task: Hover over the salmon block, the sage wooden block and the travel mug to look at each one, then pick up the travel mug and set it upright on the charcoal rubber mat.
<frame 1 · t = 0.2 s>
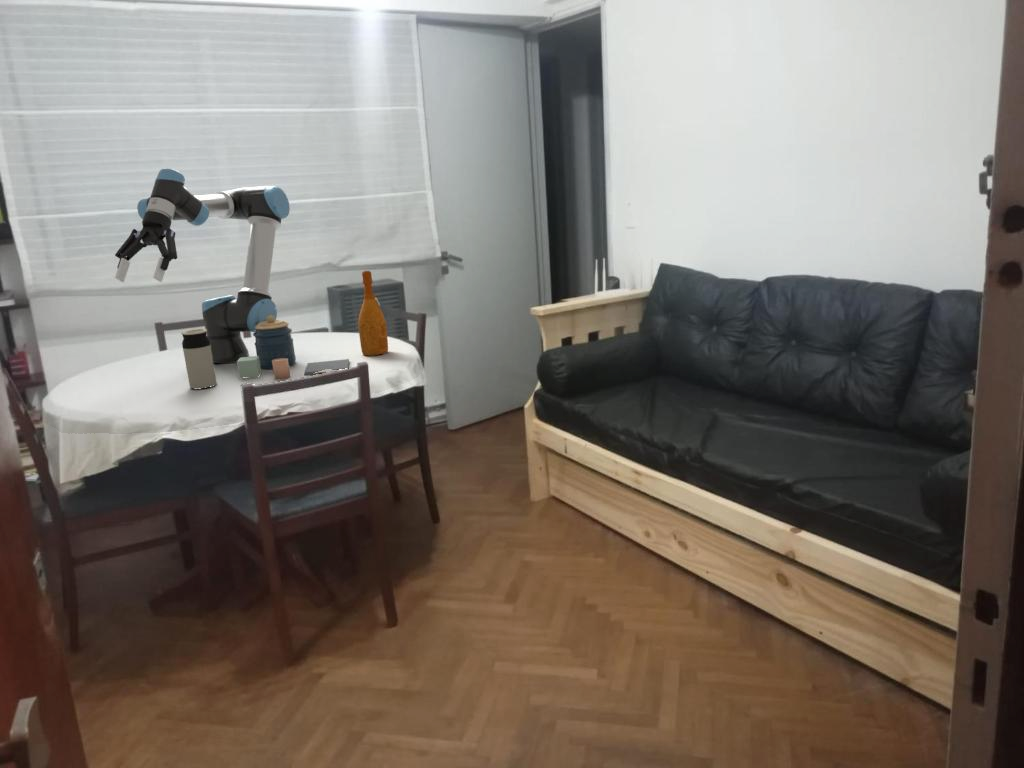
hand: (138, 279, 211), 36 cm above the table, tool tilted 35°, fingers open, 13 cm apart
wine bottle: (375, 354, 263), on the table
travel mug: (203, 387, 230), on the table
sage block: (250, 376, 240), on the table
canister: (277, 365, 254), on the table
mat: (327, 368, 244), on the table
salmon block: (282, 377, 236), on the table
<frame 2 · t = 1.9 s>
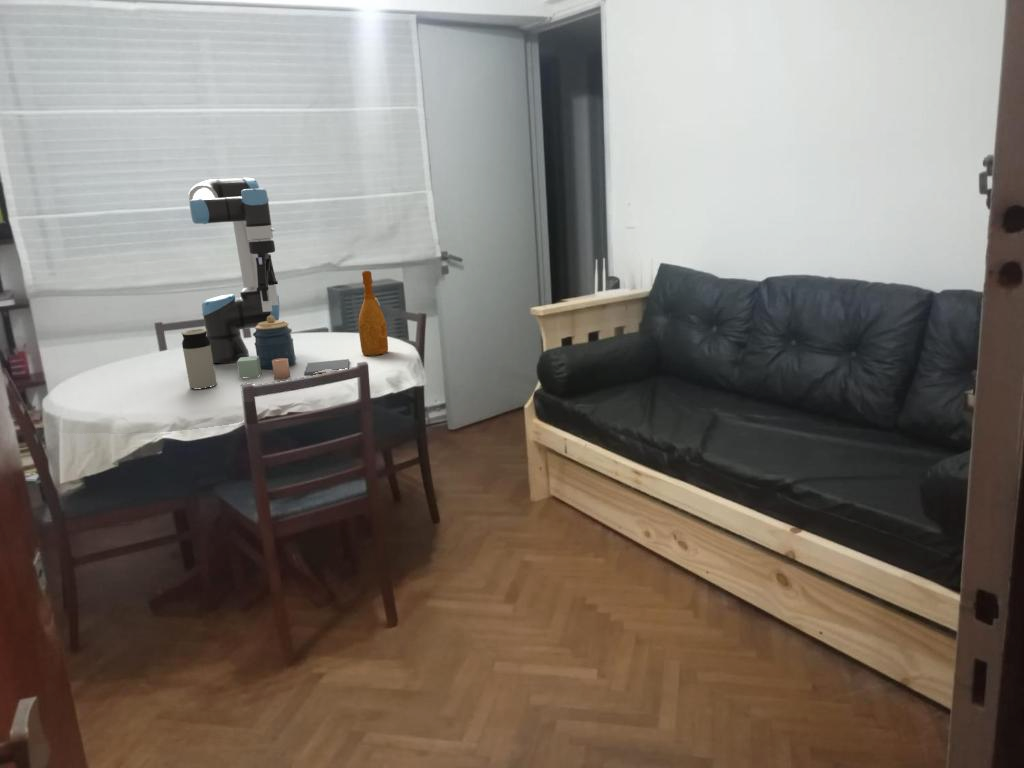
hand: (270, 308, 229), 23 cm above the table, tool pointing down, fingers open, 13 cm apart
nothing on the table moved.
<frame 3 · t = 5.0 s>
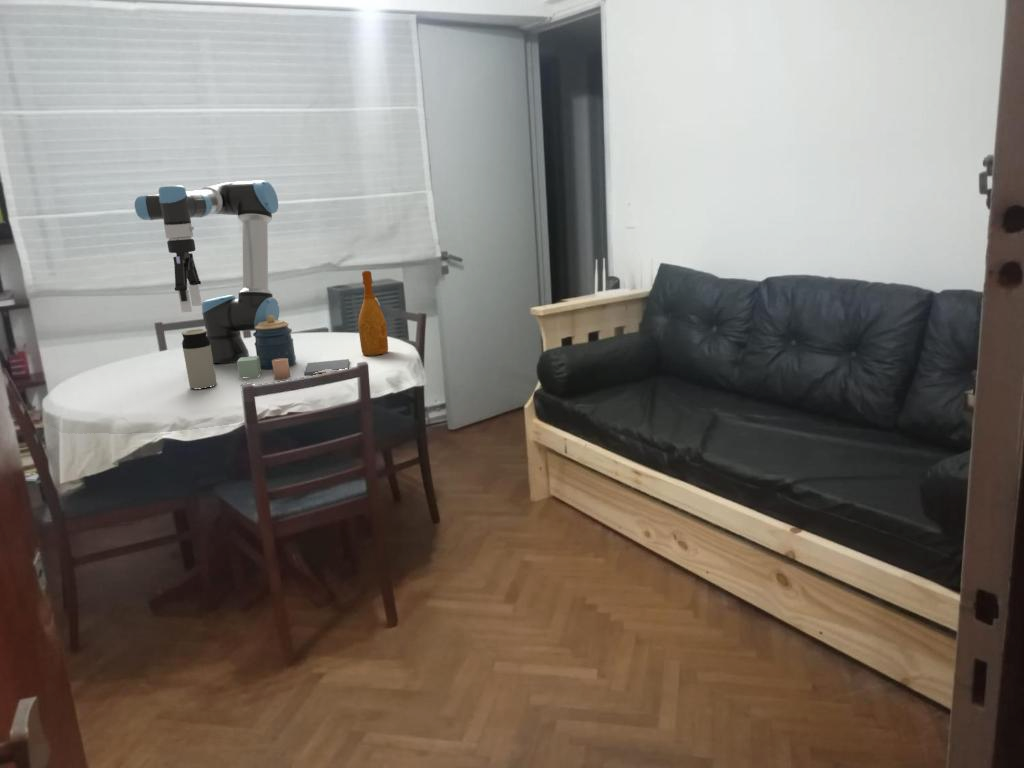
hand: (192, 308, 224), 25 cm above the table, tool pointing down, fingers open, 13 cm apart
nothing on the table moved.
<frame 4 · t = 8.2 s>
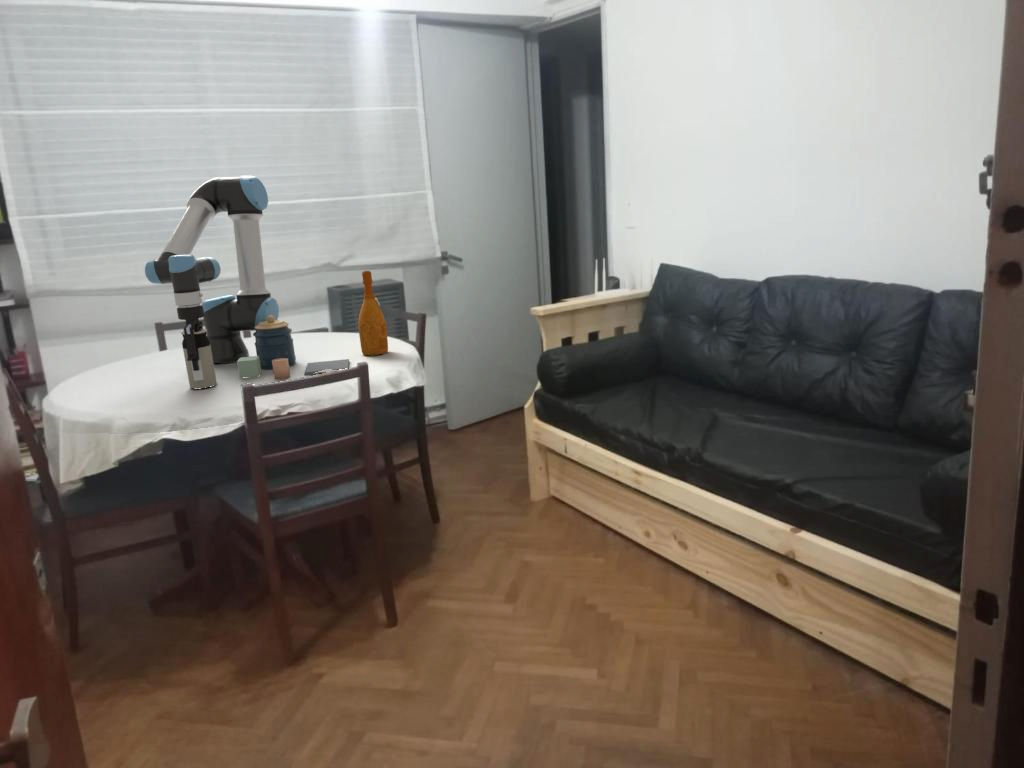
hand: (202, 376, 229), 3 cm above the table, tool pointing down, fingers closed on travel mug, 8 cm apart
travel mug: (203, 387, 230), on the table, touching gripper
everything else where it was.
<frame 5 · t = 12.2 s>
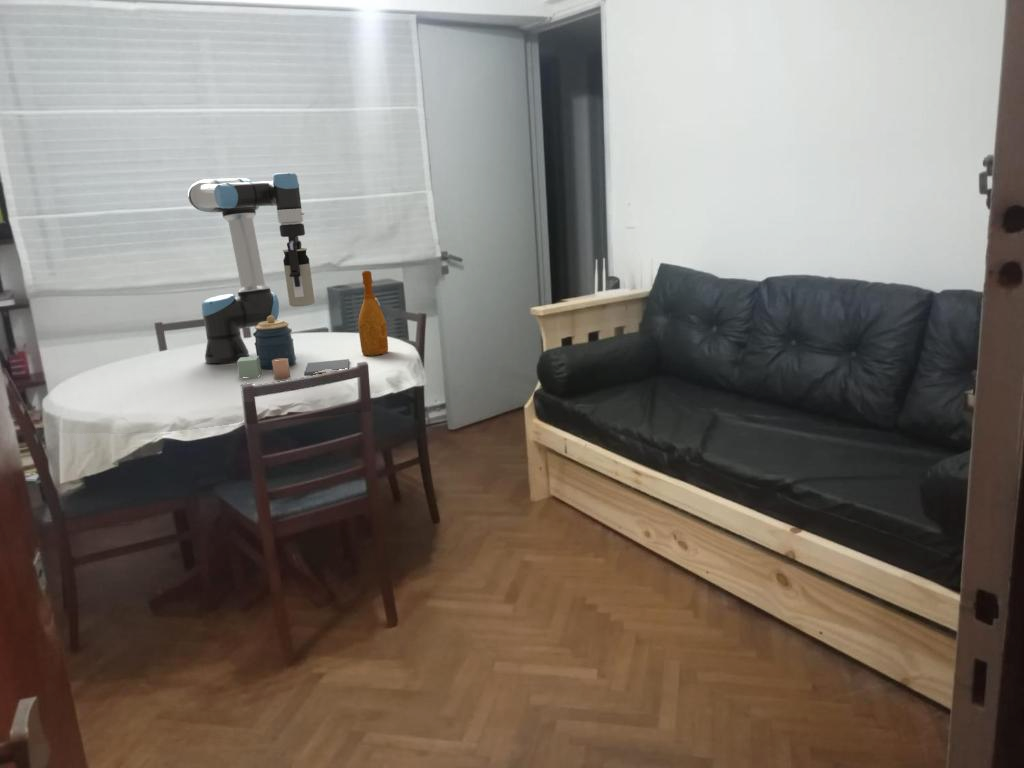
hand: (301, 295, 235), 26 cm above the table, tool pointing down, fingers closed on travel mug, 8 cm apart
travel mug: (302, 305, 236), point 22 cm above the table, touching gripper
everything else where it was.
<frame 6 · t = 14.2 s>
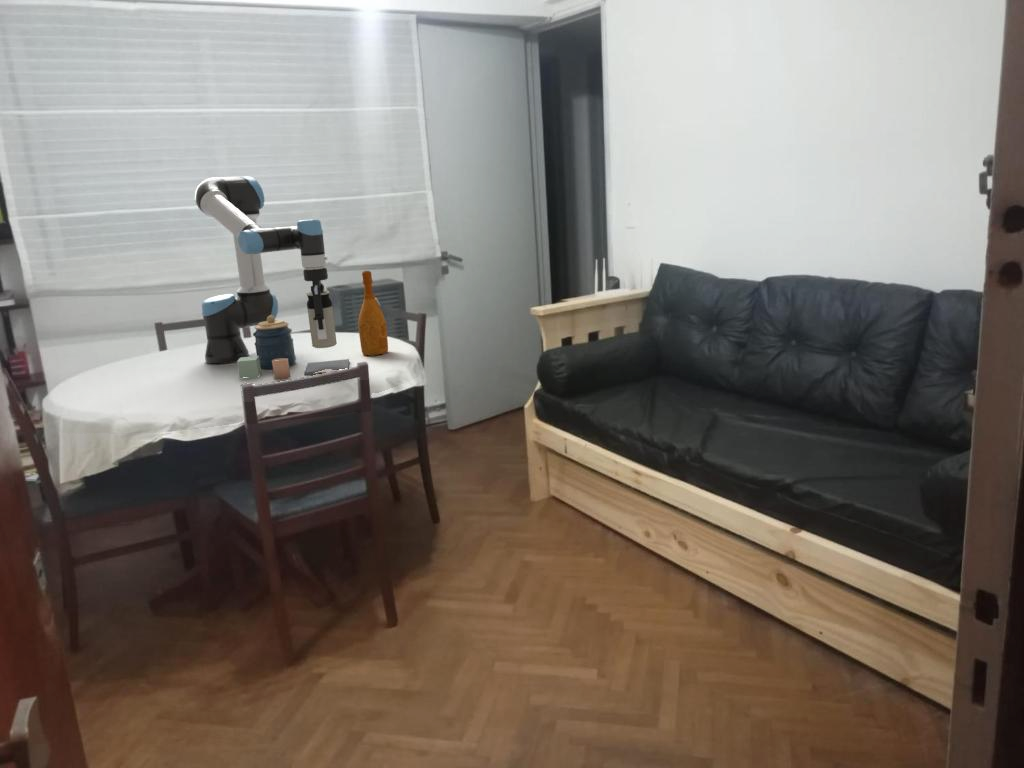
hand: (323, 336, 242), 11 cm above the table, tool pointing down, fingers closed on travel mug, 8 cm apart
travel mug: (324, 346, 243), point 8 cm above the table, touching gripper
everything else where it was.
when the fingers open (6 cm above the table, at t = 16.1 s): travel mug drops 1 cm, resting on mat.
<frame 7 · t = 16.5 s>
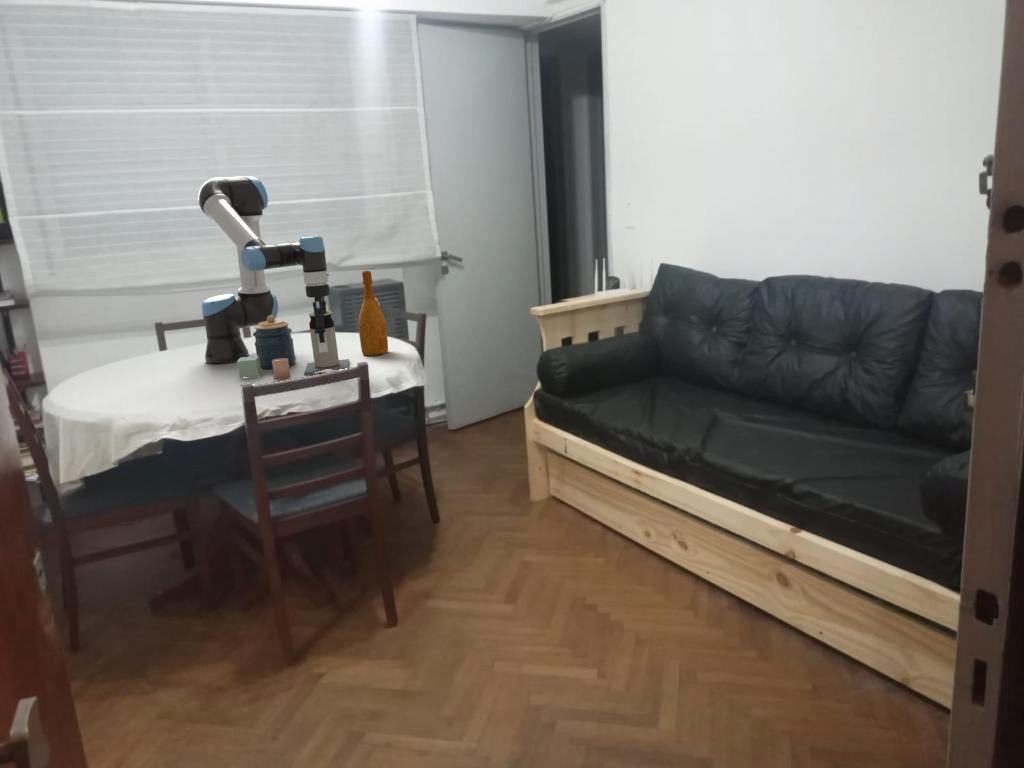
hand: (325, 348, 243), 7 cm above the table, tool pointing down, fingers open, 12 cm apart
travel mug: (327, 365, 244), point 1 cm above the table, touching mat
everything else where it was.
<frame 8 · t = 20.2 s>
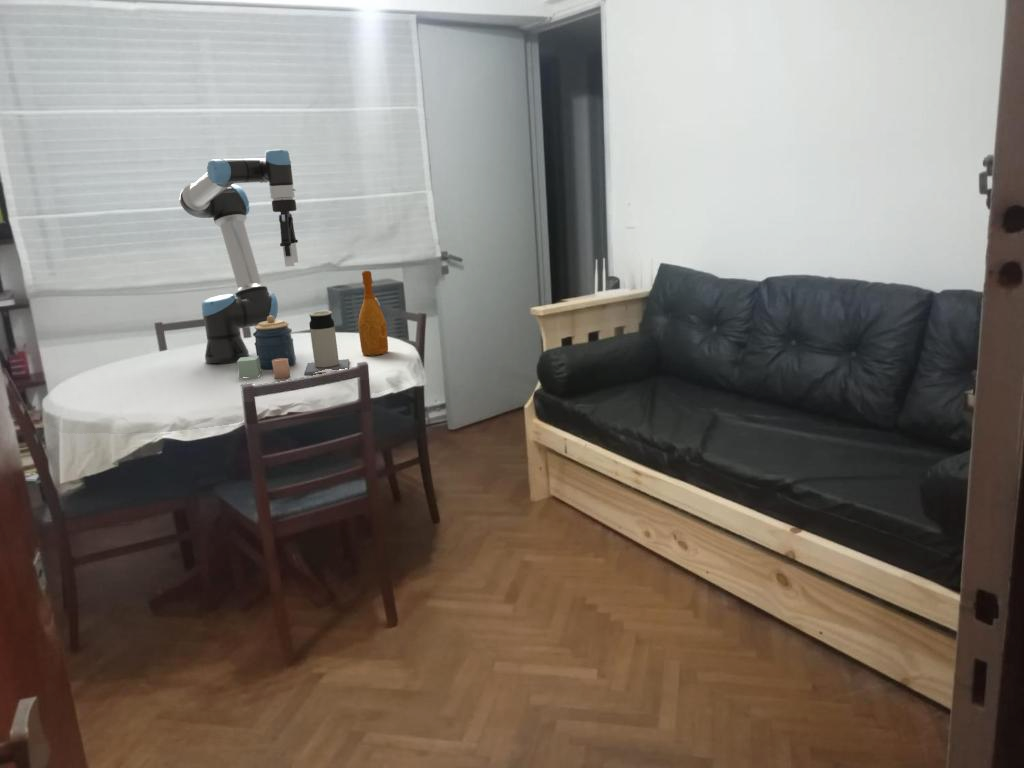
hand: (292, 264, 243), 35 cm above the table, tool pointing down, fingers open, 13 cm apart
nothing on the table moved.
at the end: travel mug inside the target area on the mat (0.1 cm from its centre), point 0.8 cm above the mat's base; travel mug tilted 0°; sage block moved 0.1 cm from its start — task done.
